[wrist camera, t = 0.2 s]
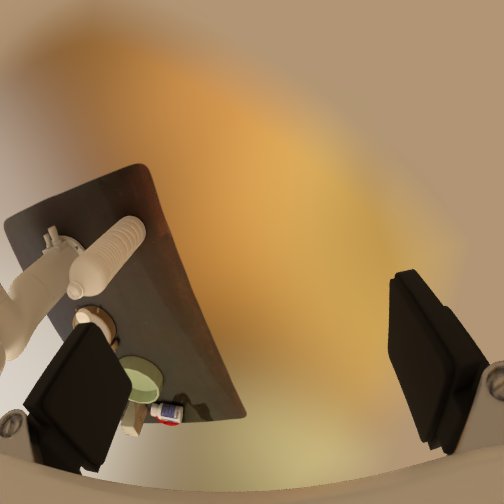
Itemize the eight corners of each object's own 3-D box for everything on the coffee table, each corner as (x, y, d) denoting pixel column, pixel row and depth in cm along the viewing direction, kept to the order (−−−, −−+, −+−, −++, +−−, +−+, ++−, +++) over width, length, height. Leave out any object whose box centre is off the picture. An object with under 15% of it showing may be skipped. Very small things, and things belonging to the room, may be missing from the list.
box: (148, 409, 86) (139, 437, 76) (136, 408, 86) (126, 436, 76) (142, 398, 84) (132, 427, 74) (129, 398, 84) (119, 425, 74)
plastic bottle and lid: (114, 217, 61) (48, 274, 38) (142, 213, 61) (82, 271, 38) (124, 256, 65) (69, 325, 42) (152, 253, 64) (103, 325, 41)
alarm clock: (102, 309, 67) (119, 364, 71) (111, 301, 72) (126, 354, 75) (66, 310, 68) (83, 362, 71) (76, 303, 73) (91, 353, 76)
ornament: (177, 428, 88) (147, 418, 87) (178, 426, 89) (148, 417, 88) (183, 416, 85) (151, 405, 84) (183, 414, 86) (151, 404, 84)
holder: (108, 357, 77) (101, 369, 73) (151, 354, 76) (146, 367, 71) (129, 391, 83) (124, 403, 78) (170, 390, 81) (167, 403, 77)
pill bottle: (183, 403, 84) (154, 397, 84) (180, 414, 79) (149, 408, 79) (183, 415, 85) (154, 410, 85) (180, 427, 80) (150, 420, 80)
